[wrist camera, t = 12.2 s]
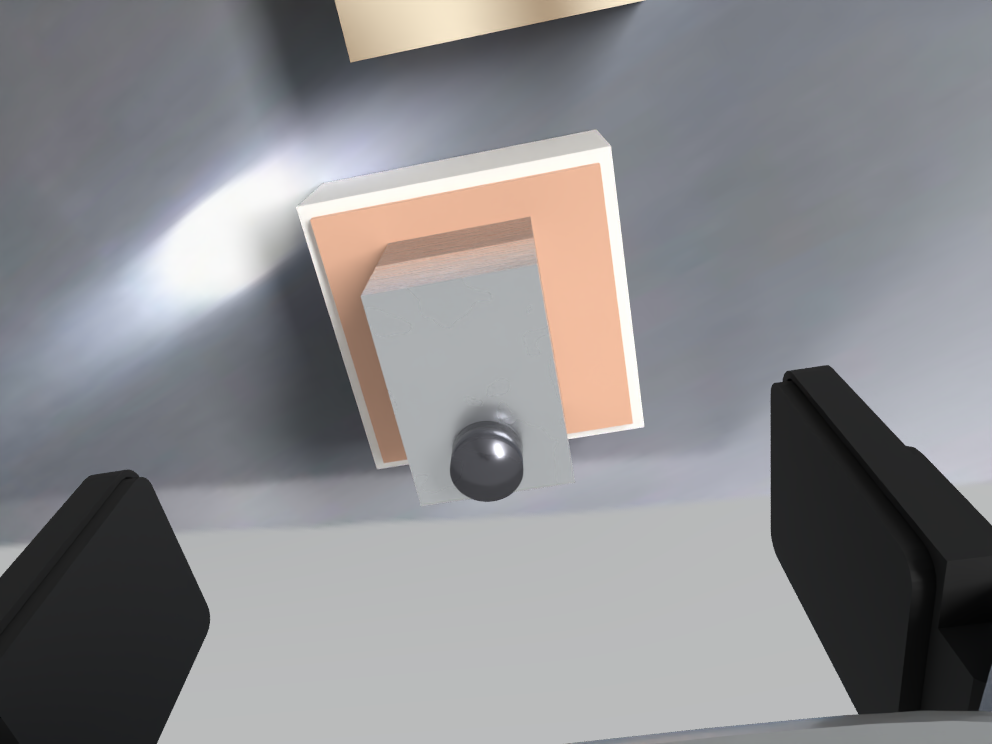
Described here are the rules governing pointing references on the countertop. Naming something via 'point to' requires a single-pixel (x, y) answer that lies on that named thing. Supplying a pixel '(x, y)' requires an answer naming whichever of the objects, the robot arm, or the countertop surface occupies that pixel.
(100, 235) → the countertop surface
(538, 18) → the stand
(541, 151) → the stand
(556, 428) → the housing
